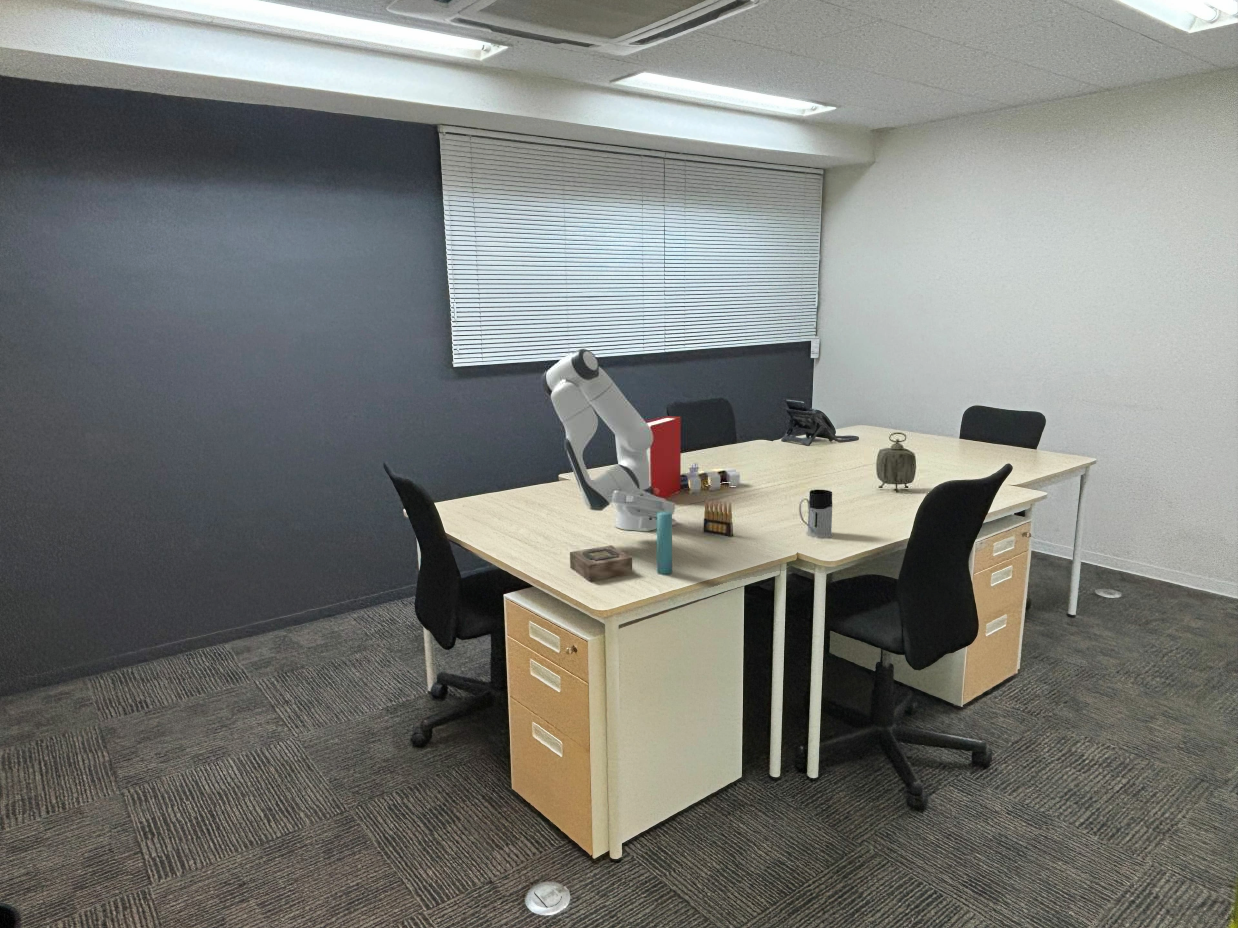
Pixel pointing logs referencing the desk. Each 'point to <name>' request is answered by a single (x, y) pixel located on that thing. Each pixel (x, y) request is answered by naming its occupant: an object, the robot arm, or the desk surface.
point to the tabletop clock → (896, 464)
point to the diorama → (709, 478)
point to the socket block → (601, 563)
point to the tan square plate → (600, 554)
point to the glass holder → (819, 513)
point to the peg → (664, 543)
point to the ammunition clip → (718, 519)
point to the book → (665, 455)
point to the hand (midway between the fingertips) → (649, 502)
